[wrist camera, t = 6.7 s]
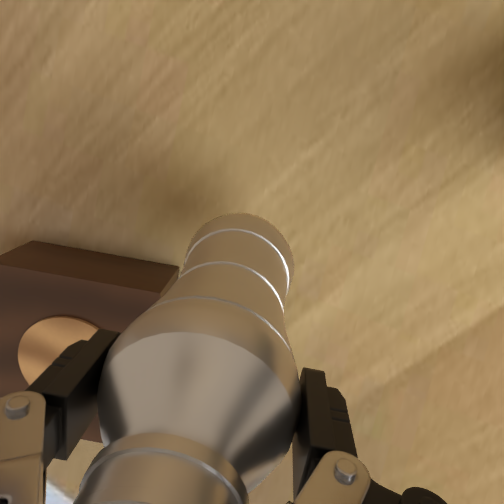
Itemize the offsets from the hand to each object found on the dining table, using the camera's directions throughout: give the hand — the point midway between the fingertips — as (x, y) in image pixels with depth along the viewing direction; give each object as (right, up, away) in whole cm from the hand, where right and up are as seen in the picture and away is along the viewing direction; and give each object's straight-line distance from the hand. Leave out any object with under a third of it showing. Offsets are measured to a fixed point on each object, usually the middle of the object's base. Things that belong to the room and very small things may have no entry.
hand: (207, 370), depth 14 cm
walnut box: (-13, -3, +25) cm, 28 cm away
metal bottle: (+1, +4, +13) cm, 14 cm away
